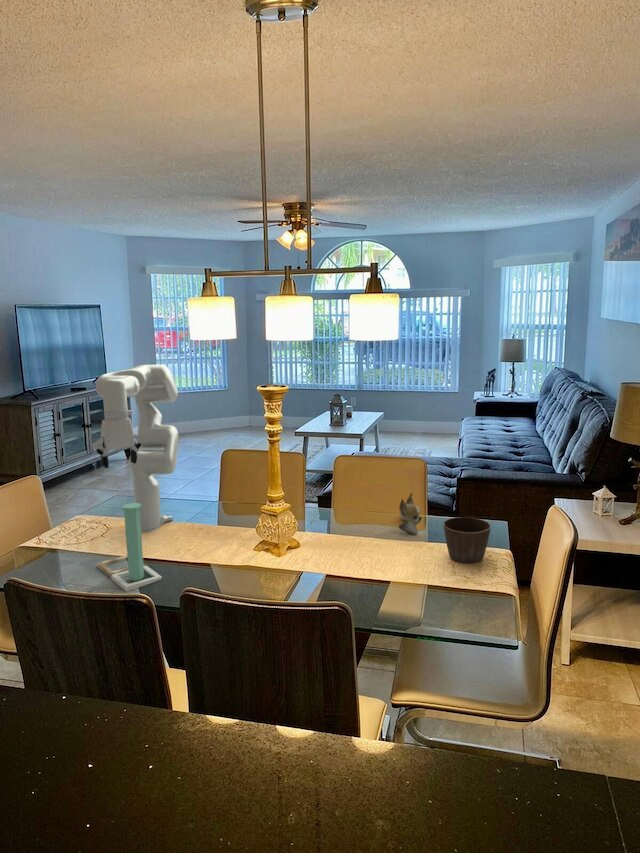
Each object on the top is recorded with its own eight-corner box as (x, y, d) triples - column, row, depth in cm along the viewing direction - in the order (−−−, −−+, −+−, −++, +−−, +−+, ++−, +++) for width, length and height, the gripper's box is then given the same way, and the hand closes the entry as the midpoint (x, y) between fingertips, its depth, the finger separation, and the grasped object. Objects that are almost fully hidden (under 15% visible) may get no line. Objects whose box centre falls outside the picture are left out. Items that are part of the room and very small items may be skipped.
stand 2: (146, 569, 213) (146, 565, 213) (162, 581, 204) (161, 576, 204) (111, 579, 206) (111, 574, 205) (125, 591, 196) (125, 586, 196)
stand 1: (131, 558, 223) (131, 554, 223) (145, 568, 214) (145, 564, 214) (97, 567, 216) (97, 563, 215) (110, 578, 206) (110, 573, 206)
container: (143, 583, 202) (138, 508, 198) (124, 583, 202) (119, 508, 198) (148, 576, 208) (143, 502, 203) (130, 576, 208) (125, 502, 203)
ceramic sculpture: (416, 540, 237) (416, 501, 234) (394, 536, 241) (394, 498, 238) (426, 531, 246) (426, 494, 243) (405, 528, 250) (405, 491, 247)
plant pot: (482, 583, 198) (483, 535, 195) (436, 574, 205) (437, 527, 203) (494, 567, 211) (495, 521, 208) (450, 559, 218) (451, 514, 215)
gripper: (136, 411, 220) (139, 459, 223) (86, 416, 209) (90, 467, 213) (145, 413, 214) (148, 463, 217) (94, 419, 204) (98, 471, 207)
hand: (119, 465), depth 215 cm, fingers open, 9 cm apart
